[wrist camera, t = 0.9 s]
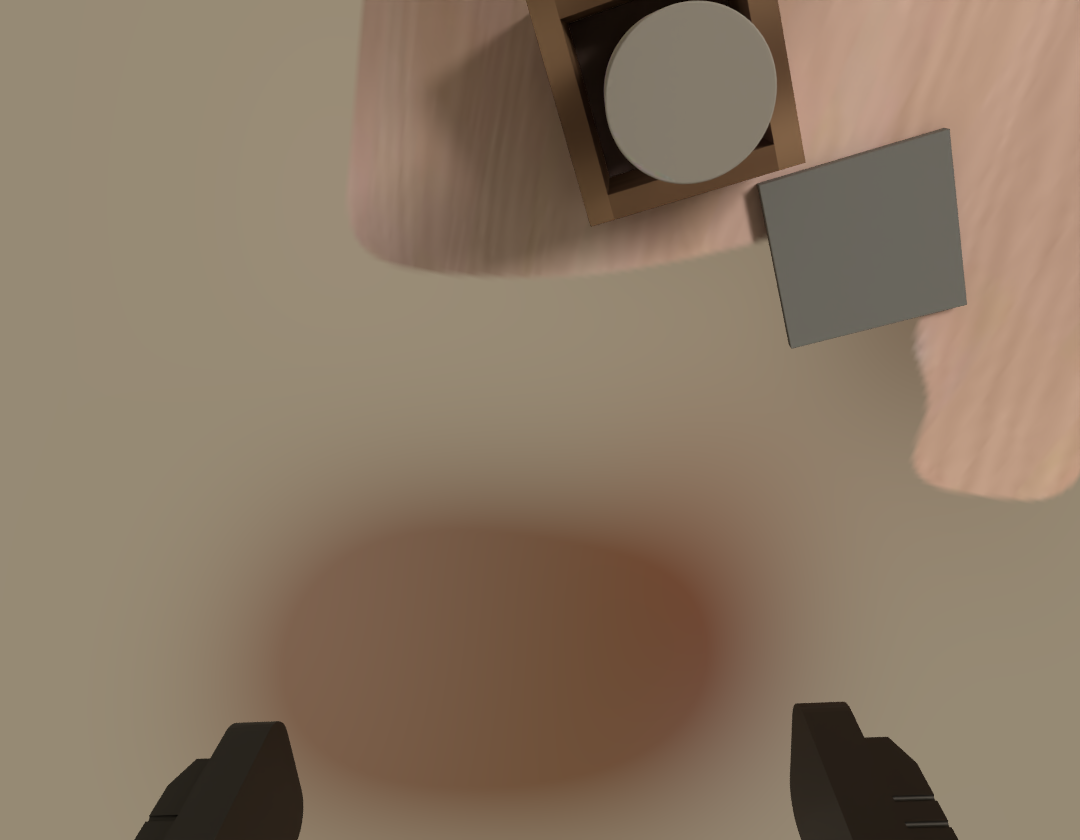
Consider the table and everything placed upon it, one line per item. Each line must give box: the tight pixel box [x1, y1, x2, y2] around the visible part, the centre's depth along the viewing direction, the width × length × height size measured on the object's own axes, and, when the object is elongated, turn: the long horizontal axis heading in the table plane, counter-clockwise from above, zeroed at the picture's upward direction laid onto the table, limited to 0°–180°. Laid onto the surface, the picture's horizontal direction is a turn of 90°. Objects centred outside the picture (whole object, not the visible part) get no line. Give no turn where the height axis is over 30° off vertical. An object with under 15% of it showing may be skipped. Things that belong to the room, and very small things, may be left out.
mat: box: [757, 128, 967, 348], centre depth 36 cm, size 8×8×1 cm
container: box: [604, 1, 777, 184], centre depth 27 cm, size 5×5×15 cm
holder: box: [526, 0, 805, 226], centre depth 31 cm, size 9×9×5 cm
